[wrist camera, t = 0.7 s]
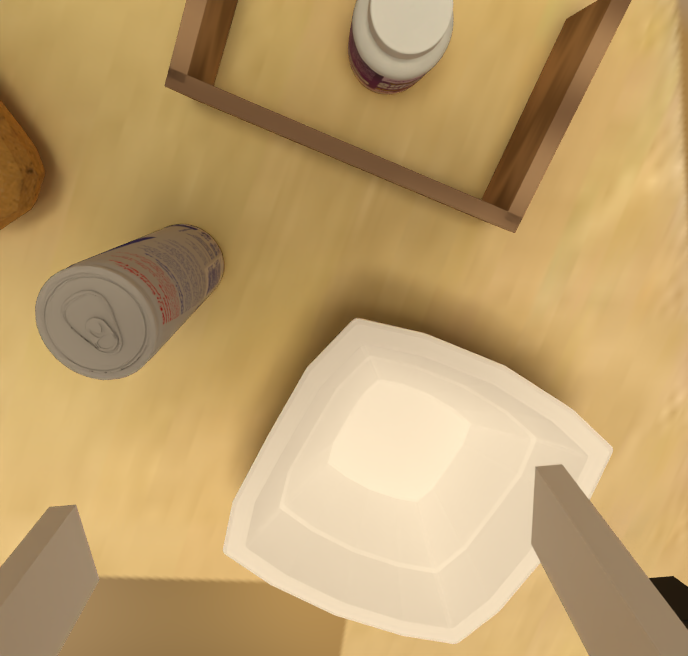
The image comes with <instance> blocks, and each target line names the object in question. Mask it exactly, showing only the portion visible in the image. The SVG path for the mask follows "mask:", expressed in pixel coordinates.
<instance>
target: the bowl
mask: <svg viewBox="0 0 688 656" xmlns="http://www.w3.org/2000/svg"><path fill="white" fill-rule="evenodd" d="M612 452H613V448H612V446H611V445H610V444H609V443H608V442H607V441H606V440H604V439H603V438H602V437H601V436H600V435H599V434H598V433H597V432H596V431H595V430H594V429H593V428H592V427H591V426H590V425H589V424H588V423H587V422H586V421H585V420H583V419H582V418H581V417H580V416H579V415H578V414H577V413H576V412H575V411H574V410H573V409H572V408H570V407H568V406H567V405H565V404H564V403H562V402H561V401H559V400H558V399H556V398H554V397H553V396H551V395H550V394H548V393H547V392H545V391H544V390H542V389H541V388H539V387H537V386H536V385H534V384H533V383H531V382H530V381H528V380H527V379H525V378H523V377H522V376H520V375H519V374H517V373H516V372H514V371H513V370H511V369H509V368H508V367H506V366H505V365H503V364H500V363H498V362H495V361H493V360H490V359H488V358H485V357H483V356H480V355H478V354H476V353H473V352H471V351H468V350H466V349H463V348H461V347H458V346H456V345H453V344H451V343H448V342H446V341H443V340H441V339H439V338H436V337H434V336H431V335H429V334H426V333H423V332H419V331H414V330H410V329H406V328H401V327H397V326H393V325H388V324H384V323H380V322H375V321H371V320H367V319H362V318H355V319H353V320H352V321H351V322H350V323H349V324H348V325H347V326H346V327H345V328H344V329H343V330H342V331H341V332H340V333H339V334H338V335H337V336H336V337H335V338H334V339H333V340H332V341H331V343H330V344H329V345H328V346H327V347H326V348H325V349H324V350H323V351H322V352H321V353H320V354H319V355H318V356H317V357H316V358H315V359H314V360H313V361H312V362H311V363H310V364H309V366H308V367H307V368H306V370H305V371H304V373H303V375H302V377H301V378H300V380H299V382H298V384H297V385H296V387H295V389H294V391H293V392H292V394H291V396H290V398H289V399H288V401H287V403H286V405H285V406H284V408H283V410H282V412H281V413H280V415H279V417H278V419H277V420H276V422H275V424H274V426H273V427H272V429H271V431H270V433H269V434H268V436H267V438H266V440H265V442H264V444H263V446H262V447H261V449H260V451H259V453H258V455H257V457H256V459H255V461H254V463H253V464H252V466H251V468H250V470H249V472H248V474H247V476H246V478H245V480H244V481H243V483H242V485H241V487H240V489H239V491H238V493H237V495H236V496H235V498H234V500H233V503H232V508H231V512H230V517H229V522H228V527H227V532H226V537H225V542H224V547H223V553H224V554H225V555H227V556H228V557H230V558H231V559H233V560H234V561H236V562H237V563H239V564H240V565H242V566H243V567H245V568H246V569H248V570H249V571H251V572H252V573H254V574H255V575H257V576H258V577H260V578H261V579H263V580H264V581H266V582H267V583H269V584H270V585H272V586H274V587H277V588H279V589H281V590H283V591H285V592H287V593H289V594H291V595H293V596H295V597H297V598H300V599H302V600H304V601H306V602H308V603H310V604H312V605H315V606H317V607H319V608H321V609H323V610H325V611H327V612H329V613H331V614H333V615H336V616H339V617H343V618H346V619H349V620H352V621H355V622H359V623H362V624H365V625H369V626H372V627H375V628H379V629H382V630H385V631H388V632H392V633H395V634H398V635H402V636H408V637H414V638H420V639H426V640H432V641H438V642H445V643H451V644H457V643H459V642H460V641H462V640H463V639H464V638H466V637H467V636H468V635H470V634H471V633H472V632H473V631H475V630H476V629H477V628H479V627H480V626H481V625H483V624H484V623H485V622H486V621H488V620H489V619H490V618H492V617H493V616H494V615H496V614H497V613H498V612H499V611H500V610H501V609H502V608H503V607H504V605H505V604H506V603H507V602H508V601H509V599H510V598H511V597H512V596H513V595H514V593H515V592H516V591H517V590H518V589H519V588H520V586H521V585H522V584H523V583H524V582H525V580H526V579H527V578H528V577H529V576H530V574H531V573H532V572H533V571H534V570H535V569H536V567H537V566H538V565H539V564H540V563H541V562H540V560H539V558H538V556H537V554H536V552H535V551H534V549H533V547H532V545H531V535H532V517H533V499H534V481H535V466H547V465H559V464H562V465H563V466H564V467H565V469H566V470H567V471H568V473H569V474H570V475H571V477H572V478H573V479H574V480H575V482H576V483H577V484H578V486H579V487H580V488H581V490H582V491H583V492H584V494H585V495H586V496H587V498H588V499H589V500H590V498H591V496H592V494H593V492H594V490H595V488H596V486H597V484H598V482H599V480H600V477H601V475H602V473H603V471H604V469H605V467H606V465H607V463H608V461H609V459H610V457H611V454H612Z"/></svg>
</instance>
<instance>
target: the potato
mask: <svg viewBox="0 0 688 656" xmlns="http://www.w3.org/2000/svg"><path fill="white" fill-rule="evenodd" d="M44 175H45V170H44V167H43V164H42V162H41V159H40V156H39V154H38V151H37V148H36V147H35V145H34V144H33V143H32V141H31V140H30V138H29V137H28V136H27V134H26V133H25V132H24V130H23V129H22V127H21V126H20V125H19V123H18V122H17V121H16V120H15V118H14V117H13V116H12V115H11V113H10V112H9V111H8V109H7V108H6V107H5V106H4V104H3V103H2V102H1V100H0V230H1V229H3V228H4V227H6V226H7V225H8V224H10V223H11V222H13V221H14V220H16V219H17V218H19V217H20V216H22V215H23V214H25V213H26V212H28V211H29V210H31V209H32V208H33V206H34V204H35V202H36V201H37V198H38V195H39V191H40V188H41V185H42V182H43V179H44Z"/></svg>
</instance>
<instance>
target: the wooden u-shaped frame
mask: <svg viewBox="0 0 688 656" xmlns="http://www.w3.org/2000/svg"><path fill="white" fill-rule="evenodd" d="M237 2H238V0H186V4H185V8H184V12H183V16H182V20H181V24H180V28H179V32H178V36H177V39H176V43H175V47H174V51H173V55H172V59H171V63H170V67H169V71H168V75H167V78H166V82H165V87H168V88H170V89H172V90H174V91H177V92H179V93H181V94H183V95H186V96H188V97H190V98H192V99H194V100H197V101H199V102H202V103H204V104H206V105H209V106H211V107H214V108H216V109H218V110H221V111H223V112H225V113H228V114H230V115H233V116H235V117H237V118H240V119H242V120H245V121H247V122H249V123H252V124H254V125H256V126H259V127H261V128H264V129H266V130H268V131H271V132H273V133H276V134H278V135H280V136H283V137H285V138H287V139H290V140H292V141H295V142H297V143H299V144H302V145H304V146H307V147H309V148H311V149H314V150H316V151H318V152H321V153H323V154H326V155H328V156H330V157H333V158H335V159H338V160H340V161H342V162H345V163H347V164H349V165H352V166H354V167H357V168H359V169H361V170H364V171H366V172H368V173H371V174H373V175H376V176H378V177H380V178H383V179H385V180H388V181H390V182H392V183H395V184H397V185H399V186H402V187H404V188H407V189H409V190H411V191H414V192H416V193H419V194H421V195H423V196H426V197H428V198H430V199H433V200H435V201H438V202H440V203H442V204H445V205H447V206H450V207H452V208H454V209H457V210H459V211H461V212H464V213H466V214H469V215H471V216H473V217H476V218H478V219H481V220H483V221H485V222H488V223H490V224H493V225H495V226H498V227H501V228H503V229H506V230H508V231H511V232H513V233H515V232H516V230H517V228H518V226H519V224H520V222H521V220H522V218H523V216H524V214H525V212H526V210H527V208H528V206H529V204H530V202H531V200H532V198H533V196H534V194H535V192H536V190H537V188H538V186H539V184H540V182H541V180H542V178H543V176H544V174H545V172H546V170H547V168H548V166H549V164H550V162H551V160H552V158H553V156H554V154H555V152H556V150H557V148H558V146H559V144H560V142H561V140H562V138H563V136H564V134H565V132H566V130H567V128H568V126H569V124H570V122H571V120H572V118H573V116H574V114H575V112H576V110H577V108H578V106H579V104H580V102H581V100H582V98H583V96H584V94H585V92H586V90H587V88H588V86H589V84H590V82H591V80H592V78H593V76H594V74H595V72H596V70H597V68H598V66H599V64H600V62H601V60H602V58H603V56H604V54H605V52H606V50H607V48H608V46H609V44H610V42H611V40H612V38H613V36H614V34H615V32H616V30H617V28H618V26H619V24H620V22H621V20H622V18H623V16H624V14H625V12H626V10H627V8H628V6H629V4H630V2H631V0H597V1H596V2H594V3H592V4H591V5H589V6H587V7H586V8H584V9H582V10H581V11H579V12H577V13H576V14H574V15H573V16H571V17H569V18H568V19H566V22H565V24H564V26H563V28H562V30H561V32H560V34H559V36H558V39H557V41H556V43H555V45H554V47H553V49H552V51H551V53H550V56H549V58H548V60H547V62H546V64H545V66H544V68H543V70H542V73H541V75H540V77H539V79H538V81H537V83H536V85H535V87H534V90H533V92H532V94H531V96H530V98H529V100H528V102H527V104H526V107H525V109H524V111H523V113H522V115H521V117H520V119H519V121H518V124H517V126H516V128H515V130H514V132H513V134H512V136H511V139H510V141H509V143H508V145H507V147H506V149H505V151H504V153H503V156H502V158H501V160H500V162H499V164H498V166H497V168H496V170H495V173H494V175H493V177H492V179H491V181H490V183H489V185H488V187H487V190H486V192H485V194H484V196H483V198H482V200H480V199H477V198H475V197H473V196H470V195H468V194H466V193H463V192H461V191H459V190H456V189H454V188H452V187H449V186H447V185H445V184H442V183H440V182H438V181H435V180H433V179H430V178H428V177H426V176H423V175H421V174H419V173H416V172H414V171H412V170H409V169H407V168H405V167H402V166H400V165H398V164H395V163H393V162H391V161H388V160H386V159H383V158H381V157H379V156H376V155H374V154H372V153H369V152H367V151H365V150H362V149H360V148H358V147H355V146H353V145H351V144H348V143H346V142H344V141H341V140H339V139H336V138H334V137H332V136H329V135H327V134H325V133H322V132H320V131H318V130H315V129H313V128H311V127H308V126H306V125H304V124H301V123H299V122H297V121H294V120H292V119H290V118H287V117H285V116H282V115H280V114H278V113H275V112H273V111H271V110H268V109H266V108H264V107H261V106H259V105H257V104H254V103H252V102H250V101H247V100H245V99H243V98H240V97H238V96H235V95H233V94H231V93H228V92H226V91H224V90H221V89H219V88H217V87H214V82H215V79H216V75H217V72H218V68H219V65H220V61H221V58H222V54H223V51H224V47H225V44H226V40H227V37H228V33H229V30H230V26H231V23H232V19H233V16H234V12H235V9H236V5H237Z"/></svg>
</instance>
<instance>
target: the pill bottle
mask: <svg viewBox="0 0 688 656" xmlns="http://www.w3.org/2000/svg"><path fill="white" fill-rule="evenodd" d="M452 31H453V0H357V1H356V4H355V7H354V11H353V16H352V23H351V28H350V35H349V43H348V55H349V61H350V65H351V68H352V70H353V72H354V74H355V76H356V77H357V79H358V80H359V81H360V82H361V83H362V84H363V85H364V86H365V87H367V88H368V89H370V90H372V91H374V92H377V93H381V94H394V93H399V92H402V91H404V90H406V89H408V88H410V87H411V86H412V85H414V84H415V83H416V82H417V81H419V80H420V79H421V78H422V77H423V76H424V75H425V74H426V73H427V72H428V71H429V70H431V69H432V68H433V67H434V66H435V65H436V64H437V63H438V62H439V60H440V59H441V58H442V56H443V54H444V53H445V51H446V49H447V47H448V44H449V42H450V39H451V35H452Z"/></svg>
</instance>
